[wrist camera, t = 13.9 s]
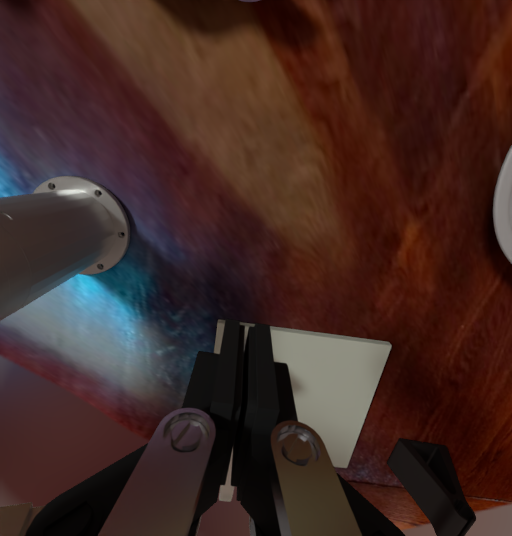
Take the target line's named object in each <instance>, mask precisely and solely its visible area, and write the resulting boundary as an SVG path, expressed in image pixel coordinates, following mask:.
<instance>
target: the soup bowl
mask: <svg viewBox="0 0 512 536" xmlns="http://www.w3.org/2000/svg"><path fill="white" fill-rule="evenodd" d="M493 223H494V230H495V234H496V237H497V241H498V243H499V245H500V248H501V250H502V251H503V253H504V255H505V256H506V258H507V259H508V260H509V261H510V263H511V264H512V146H511V147H510V149H509V151H508V153H507V155H506V158H505V160H504V162H503V164H502V167H501V170H500V173H499V176H498V179H497V183H496V187H495V193H494V199H493Z"/></svg>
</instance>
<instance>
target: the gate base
mask: <svg viewBox="0 0 512 536" xmlns="http://www.w3.org/2000/svg"><path fill="white" fill-rule="evenodd" d="M240 325H245V337H244V350H245V344H246V339H247V334H248V329H249V326H252V327H254V326H255V324H250V323H243V322H240ZM224 326H225V320H220V319H218V324H217V332H216V340H215V348H214V353H217V354H220V349H221V343H222V337H223V332H224ZM270 331H271V339H272V348H273V357H274V362H281V363H287V365H288V368H289V374H290V379H291V385H292V390H293V396H294V401H295V407H296V412H297V418H298V421H299V422H301V423H304V424H306V425H308V426H309V427H311V428H312V429H314V430H315V431H316V432H317V434H318V435H319V436H320V437H321V439H322V441H323V442H324V444H325V447H326V449H327V452H328V454H329V457H330V459H331V461H332V464H333V466H334V467H340V468H347V466H348V464H349V461H350V458H351V455H352V453H353V450H354V447H355V445H356V442H357V439H358V436H359V434H360V431H361V428H362V426H363V423H364V420H365V417H366V415H367V412H368V409H369V407H370V404H371V401H372V398H373V396H374V393H375V390H376V388H377V385H378V382H379V379H380V377H381V374H382V371H383V369H384V366H385V363H386V360H387V358H388V355H389V352H390V350H391V347H392V345H391V344H390V343H389V342H386V341H378V340H371V339H363V338H356V337H348V336H340V335H333V334H325V333H318V332H310V331H303V330H295V329H288V328H280V327H273V326H270Z"/></svg>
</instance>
